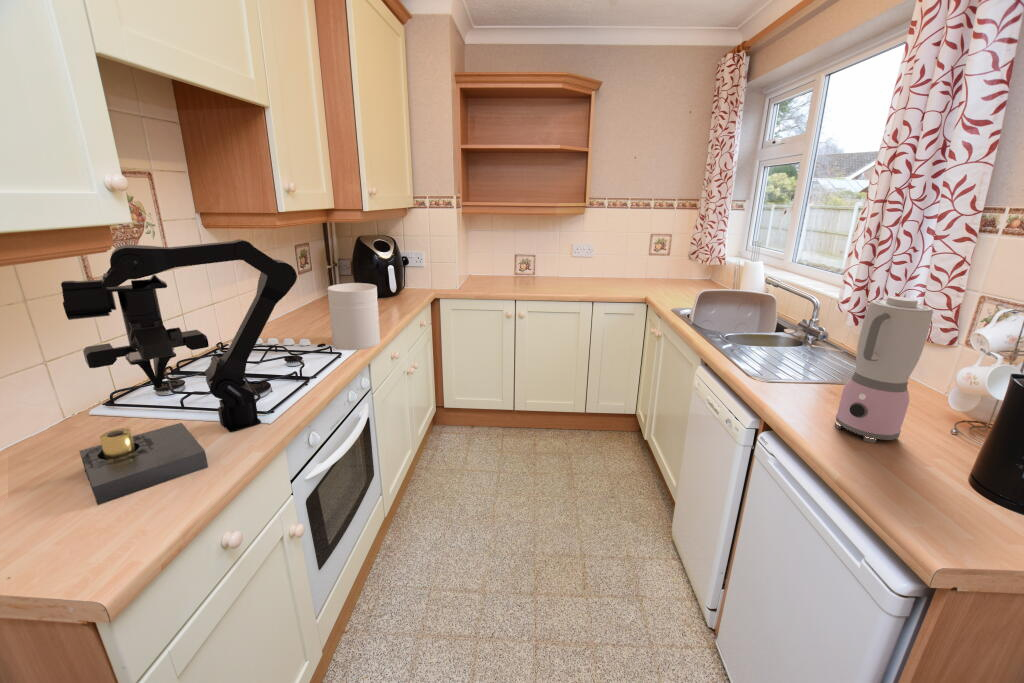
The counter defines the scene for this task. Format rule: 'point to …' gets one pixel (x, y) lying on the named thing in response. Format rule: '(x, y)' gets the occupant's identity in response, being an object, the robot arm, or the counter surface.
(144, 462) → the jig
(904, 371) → the blender
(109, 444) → the bushing
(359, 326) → the canister
